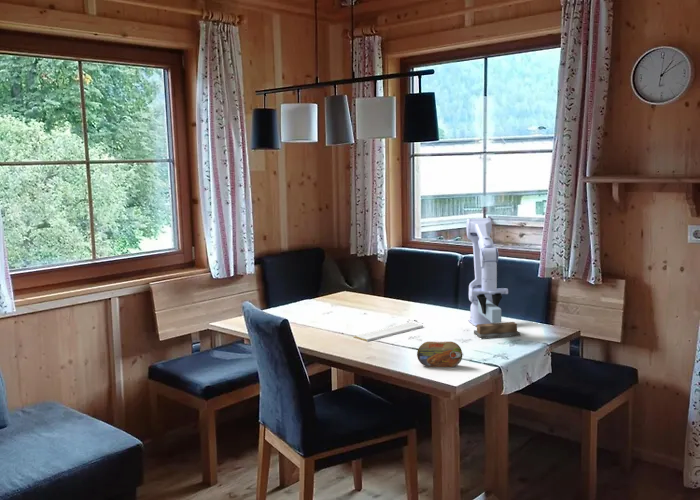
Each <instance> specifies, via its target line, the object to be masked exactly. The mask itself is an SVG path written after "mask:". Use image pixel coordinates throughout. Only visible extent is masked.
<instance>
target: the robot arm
mask: <svg viewBox="0 0 700 500" xmlns="http://www.w3.org/2000/svg"><path fill="white" fill-rule="evenodd" d="M492 224H493V223H492V219H491V217H482V218H481V217H480V218H479V217H478V218H477V217H476V218H470V217H468V218H467V219H466V222H465V226H466V228H465V229H466V236H467V239H468V240H470V241H471V244H472V250H473V252H472V253H473V267H474V269H473V270H474V279H473V280H472V281H471V282H470V283H469V285H468V300H469V301H470V303H471V304H470V310H469V311H470V319H468V322H469V323H470V324H472V325H473V326H474V327H477V324H491V323H492V322H491V321H489V320H488V319H487V318H485V317H484V316H483V315H482V314H480V313H479V312H478V300H479V302H480V305H481V308H482V313H483V314H486V299H487V300H489V301H490V302H491V303H493V304H494V305H496V306H497V307H499V305H500V302H501V300H502V299H503V295H508V294H509V289H508V287H507V288H504V287H501V288H497V286H498V284H497V283H498V281H497V280H498V278H497V277H498V271H497V270H498V269H497V268H498V267H497V265H498V262H499V250H498V247H497V245H496V246H495V245H494V244H495V243H494V241H493V238H492V237H490V236H491V232H492V228H493V227H492Z"/></svg>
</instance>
